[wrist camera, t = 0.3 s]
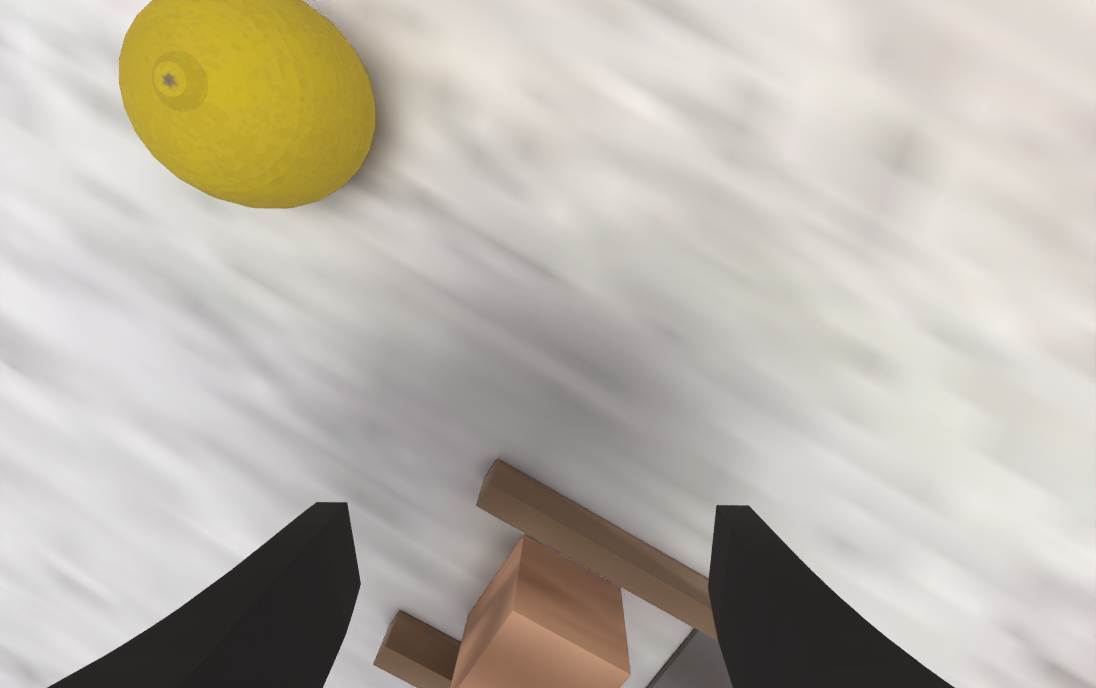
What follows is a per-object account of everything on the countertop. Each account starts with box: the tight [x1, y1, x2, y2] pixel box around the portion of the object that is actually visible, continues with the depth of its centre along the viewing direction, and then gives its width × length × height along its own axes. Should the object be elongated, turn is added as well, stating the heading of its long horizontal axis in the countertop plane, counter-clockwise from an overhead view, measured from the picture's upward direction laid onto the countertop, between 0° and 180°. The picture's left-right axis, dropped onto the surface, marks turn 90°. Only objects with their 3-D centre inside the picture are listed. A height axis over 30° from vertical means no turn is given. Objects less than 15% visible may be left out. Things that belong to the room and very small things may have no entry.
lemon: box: [119, 0, 375, 208], centre depth 16 cm, size 6×6×8 cm
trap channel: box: [373, 459, 733, 688], centre depth 24 cm, size 9×16×2 cm, turn 59°
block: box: [450, 534, 631, 688], centre depth 23 cm, size 4×4×4 cm
